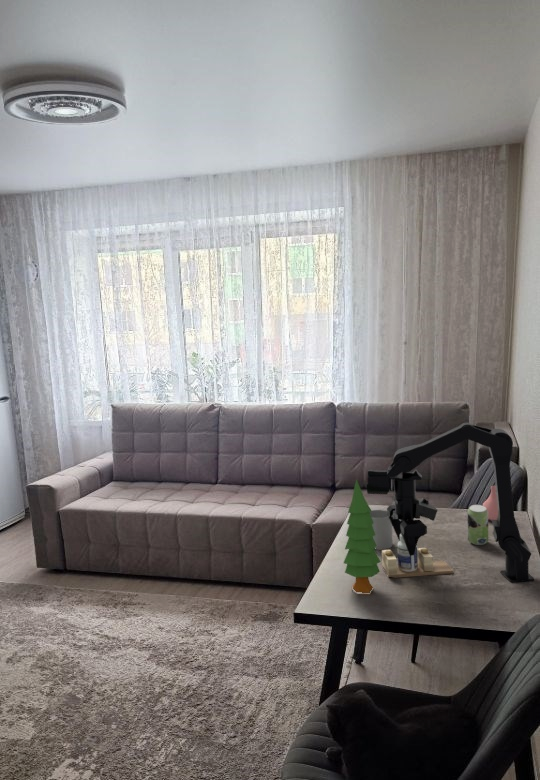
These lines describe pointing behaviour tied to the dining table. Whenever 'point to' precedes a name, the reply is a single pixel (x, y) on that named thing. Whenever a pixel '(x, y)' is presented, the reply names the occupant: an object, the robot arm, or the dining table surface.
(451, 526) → the dining table surface
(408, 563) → the pill bottle
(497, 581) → the dining table surface
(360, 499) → the decorative tree
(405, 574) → the wooden cradle stand
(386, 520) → the cup
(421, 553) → the jaw
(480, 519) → the beverage can
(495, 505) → the perfume bottle
